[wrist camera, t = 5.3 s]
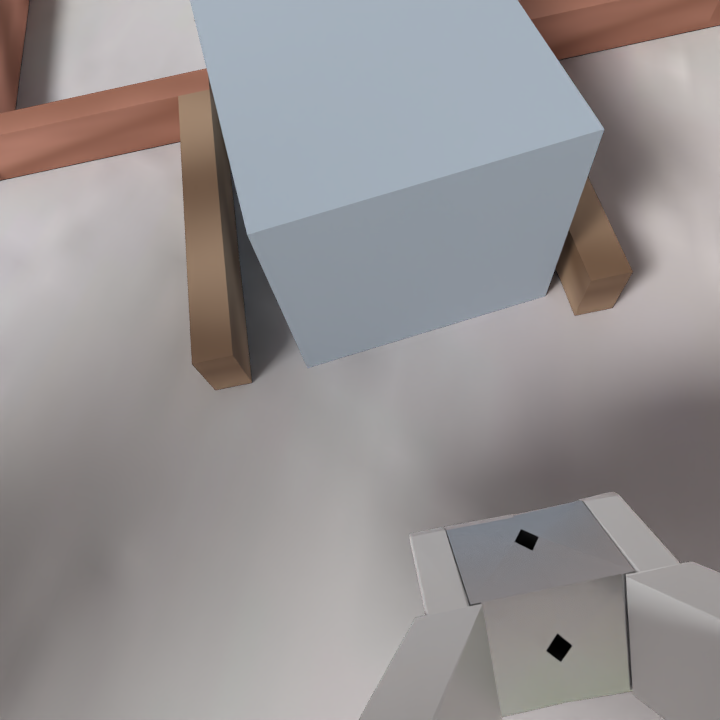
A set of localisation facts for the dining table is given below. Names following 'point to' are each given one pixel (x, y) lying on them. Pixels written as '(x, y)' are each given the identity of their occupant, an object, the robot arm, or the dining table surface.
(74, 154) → the channel
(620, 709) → the dining table surface
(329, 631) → the dining table surface
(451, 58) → the slate block
